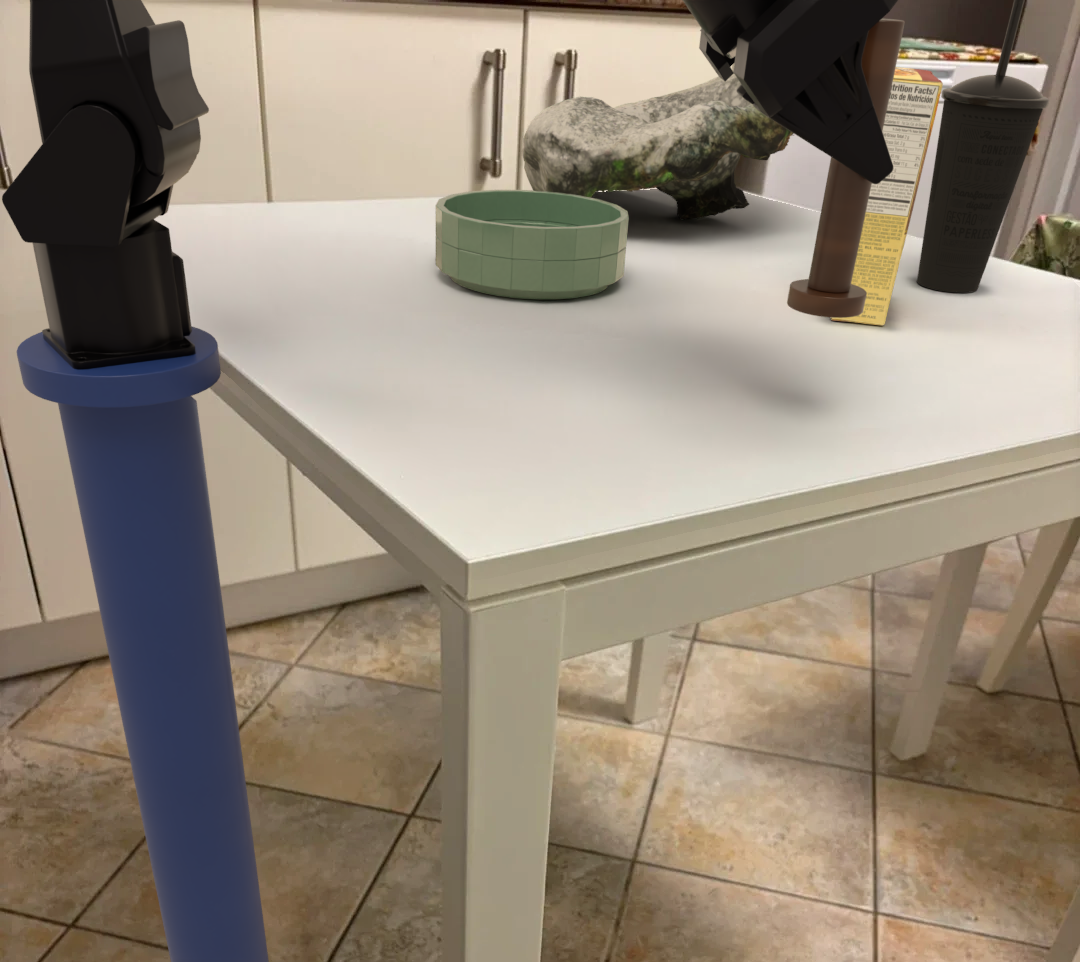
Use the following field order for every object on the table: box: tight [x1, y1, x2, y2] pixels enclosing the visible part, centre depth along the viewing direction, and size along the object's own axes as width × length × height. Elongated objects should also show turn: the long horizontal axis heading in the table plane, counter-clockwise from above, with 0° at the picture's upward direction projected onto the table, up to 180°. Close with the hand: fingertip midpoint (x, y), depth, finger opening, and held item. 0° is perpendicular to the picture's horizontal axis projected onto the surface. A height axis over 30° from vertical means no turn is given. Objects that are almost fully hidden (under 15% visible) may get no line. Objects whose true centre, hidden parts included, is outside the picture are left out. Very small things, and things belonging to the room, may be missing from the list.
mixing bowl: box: [435, 189, 630, 301], centre depth 83 cm, size 14×14×5 cm
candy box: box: [830, 66, 944, 326], centre depth 78 cm, size 9×4×15 cm, turn 168°
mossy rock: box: [521, 74, 795, 221], centre depth 104 cm, size 29×30×15 cm
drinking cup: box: [916, 0, 1050, 294], centre depth 84 cm, size 8×8×20 cm
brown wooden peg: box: [786, 17, 905, 319], centre depth 55 cm, size 4×4×13 cm
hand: (878, 173), depth 55 cm, fingers closed on brown wooden peg, 2 cm apart
